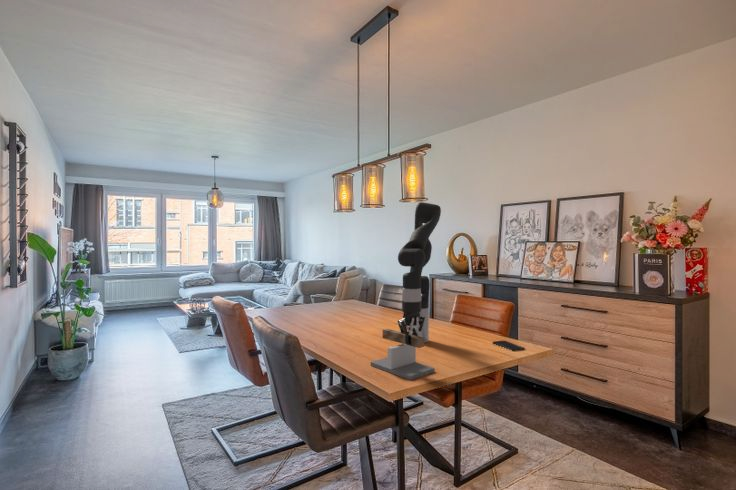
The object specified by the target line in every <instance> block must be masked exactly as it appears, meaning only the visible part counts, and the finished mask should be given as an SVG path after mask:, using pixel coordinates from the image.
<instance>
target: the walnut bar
mask: <svg viewBox="0 0 736 490" xmlns="http://www.w3.org/2000/svg"><path fill="white" fill-rule="evenodd" d="M382 339H384V340H389V341H391V342H395V343H399V344H406V343H405V334H402V333H401V331H399V330H395V329H391V328H385V329H382ZM406 345H407V344H406ZM409 346H413V347H416V348H418V349H420V348H424V347H425V343H424V338H423V337H419V336H415V335H411V345H409Z"/></svg>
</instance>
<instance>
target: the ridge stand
mask: <svg viewBox="0 0 736 490" xmlns="http://www.w3.org/2000/svg"><path fill="white" fill-rule="evenodd" d="M416 348H417V347H413V346H409V345H406V344H402V343H400V344H397V345H394V346H390V347H389V346H388V347H387V357H384V358H379V359H378V360H373V361H371V362H370V366H371V367H374V368H377V369H379V370H381V371H385V372H387V373H390V374H393V375H396V376H398V377H401V378H404V379H406V380H409V381H414V380H415V379H418V378H420V377H423V376H427V375H429V374H433V373H435V370H436V369H435V367H434V366H429V365H426V364H424V363H420V362H417V361H416V360H417V359H416Z"/></svg>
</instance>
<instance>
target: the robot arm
mask: <svg viewBox="0 0 736 490" xmlns="http://www.w3.org/2000/svg"><path fill="white" fill-rule="evenodd" d="M441 213H442V210H441V206H440V205H438V204H434V203H428V202H423V201H421V202H418V203H417V204H416V207H415V211H414V228H413V229H414V231H412V234H411V235H410V237H409V240H408V241H407V242H406V243H405V244H404V245H403V246H402V247H401V248H400V250H399V252H398V255H397V261H398V263H399V265H400V266H402V267H408V268H409V267H410V268H409V272H405V273H403V275H402V292H401V312H402V314H403V315H402V317H401V319H397V324H398V327H399V330H400V331H399V332H401V333H402V334H405V343H406V344H407V345H411V335H415V336H419V337H423V338H424V344H425V343H429V338H430V337H429V336H430V335H429V333H430V332H429V328H430V325H429V324H430V322H429V321H430V312H429V309H430V304H429V303H430V285H431V283H430V278H429V277H428V276H427V275H422V274H423V269H424V267H425V266H426V265H427V264H428V263H429V261H430V260H431V257H432V251H433V247H432V242H431V241H430V239H429V238H430V236H431V235H432V233H433V231H434V230H435V229H436V226H438V223H439V221H440V218H441Z"/></svg>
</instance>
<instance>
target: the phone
mask: <svg viewBox="0 0 736 490" xmlns="http://www.w3.org/2000/svg"><path fill="white" fill-rule="evenodd" d="M495 344H496V345H495ZM492 345H495V346H497V345H498V346H497V347H500V346H501V348H502V347H504V348H503V349H505V348H506V350H508V349H509V350H508V351H510V350H512V351H511V352H516V350H520V351H525V350H524V349H526V348H525V346H524V347H523V346H521V345H518V344H516V343H512V342H510V341H506V340H497V341H492Z"/></svg>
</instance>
